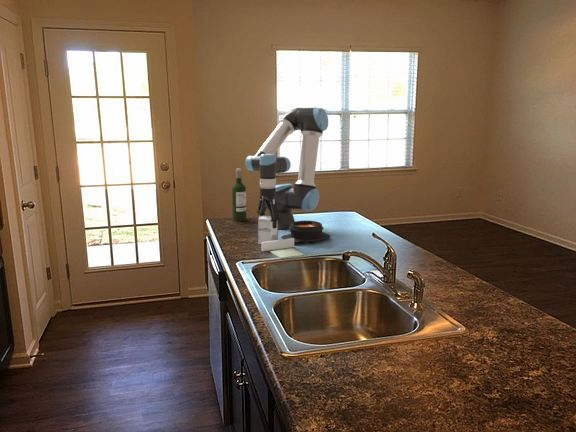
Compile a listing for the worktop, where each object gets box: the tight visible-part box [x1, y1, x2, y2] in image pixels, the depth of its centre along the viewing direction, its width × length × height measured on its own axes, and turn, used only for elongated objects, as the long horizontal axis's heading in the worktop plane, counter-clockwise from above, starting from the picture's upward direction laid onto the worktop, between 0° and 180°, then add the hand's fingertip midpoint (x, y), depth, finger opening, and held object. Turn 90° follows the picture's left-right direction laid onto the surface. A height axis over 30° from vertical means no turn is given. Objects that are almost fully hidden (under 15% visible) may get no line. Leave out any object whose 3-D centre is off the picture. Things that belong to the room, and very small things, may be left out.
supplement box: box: [257, 215, 279, 245], centre depth 229 cm, size 7×7×13 cm
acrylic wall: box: [260, 238, 295, 252], centre depth 220 cm, size 16×1×4 cm, turn 116°
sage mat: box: [269, 247, 304, 260], centre depth 212 cm, size 11×11×1 cm
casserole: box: [280, 220, 332, 244], centre depth 235 cm, size 25×19×8 cm
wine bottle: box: [231, 167, 247, 222], centre depth 277 cm, size 8×8×30 cm
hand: (267, 231), depth 228 cm, fingers open, 13 cm apart
